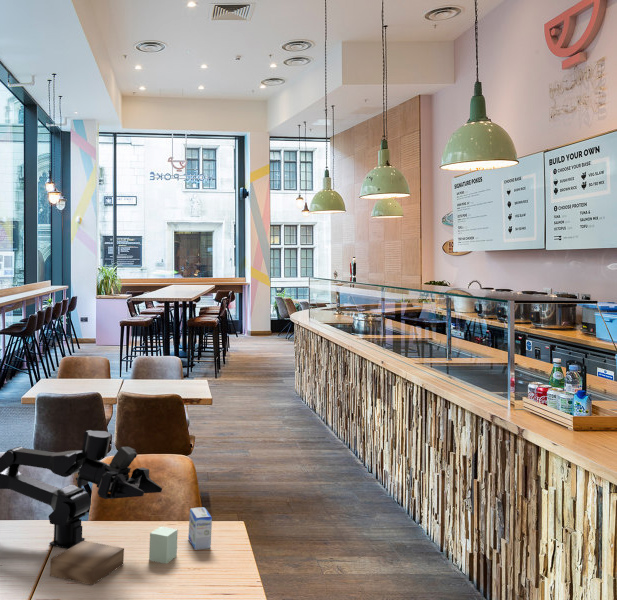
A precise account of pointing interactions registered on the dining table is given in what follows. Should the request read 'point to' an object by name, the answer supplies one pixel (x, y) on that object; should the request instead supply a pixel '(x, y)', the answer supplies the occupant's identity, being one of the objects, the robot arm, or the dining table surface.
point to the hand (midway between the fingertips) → (152, 492)
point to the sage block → (163, 544)
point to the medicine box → (200, 528)
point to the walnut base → (86, 562)
